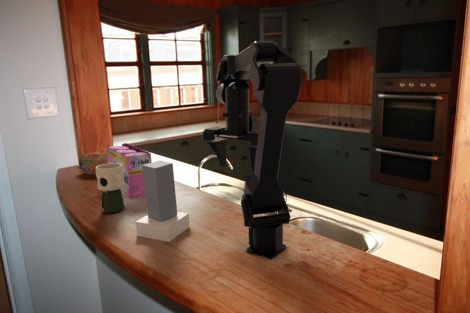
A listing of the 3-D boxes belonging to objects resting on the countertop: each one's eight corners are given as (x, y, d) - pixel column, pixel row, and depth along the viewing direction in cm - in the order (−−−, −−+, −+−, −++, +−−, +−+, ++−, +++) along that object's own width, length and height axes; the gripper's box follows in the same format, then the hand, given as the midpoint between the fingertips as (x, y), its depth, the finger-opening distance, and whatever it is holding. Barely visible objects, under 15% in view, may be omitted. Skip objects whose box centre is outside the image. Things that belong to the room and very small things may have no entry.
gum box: (107, 182, 135) (103, 145, 132) (129, 178, 139) (125, 142, 136) (130, 199, 115) (126, 156, 112) (154, 194, 120) (151, 152, 117)
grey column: (177, 215, 91) (172, 163, 88) (160, 222, 88) (155, 168, 84) (164, 210, 94) (159, 160, 91) (148, 217, 91) (142, 165, 88)
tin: (79, 173, 147) (77, 152, 145) (85, 171, 150) (82, 151, 148) (112, 176, 143) (110, 154, 141) (117, 173, 146) (115, 152, 144)
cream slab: (189, 228, 94) (188, 213, 93) (169, 243, 86) (167, 227, 85) (159, 223, 97) (158, 208, 96) (137, 237, 89) (135, 221, 88)
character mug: (92, 209, 107) (87, 165, 105) (115, 203, 112) (111, 160, 109) (111, 219, 100) (106, 171, 97) (134, 211, 105) (130, 166, 102)
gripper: (286, 106, 93) (286, 167, 97) (226, 103, 104) (227, 158, 107) (264, 110, 84) (264, 177, 88) (199, 107, 95) (202, 167, 98)
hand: (238, 169), depth 96 cm, fingers open, 9 cm apart
